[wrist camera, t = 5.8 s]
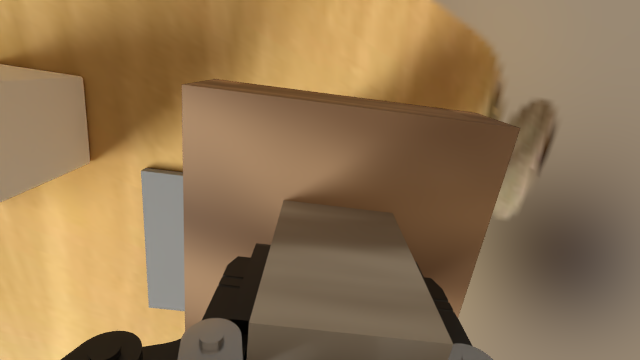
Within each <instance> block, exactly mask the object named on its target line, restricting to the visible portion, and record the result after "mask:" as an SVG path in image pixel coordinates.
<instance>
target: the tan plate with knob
mask: <svg viewBox="0 0 640 360" xmlns="http://www.w3.org/2000/svg"><path fill="white" fill-rule="evenodd" d="M519 131H520V128H519V127H516V126H513V125H510V124H507V123H504V122H501V121H498V120H495V119H492V118H489V117H486V116H483V115H480V114H477V113H472V112H465V111H457V110H449V109H442V108H434V107H426V106H418V105H411V104H403V103H395V102H388V101H380V100H372V99H365V98H357V97H349V96H341V95H334V94H326V93H318V92H311V91H303V90H295V89H287V88H280V87H272V86H264V85H257V84H249V83H241V82H233V81H226V80H218V79H213V80H206V81H200V82H194V83H188V84H182V133H183V208H184V284H185V332H186V330H187V329H189V328H190V327H191V326H192V325H194V324H195V323H197V322H199V321H202V319H203V316H204V314H205V312H206V310H207V308H208V306H209V304H210V301H211V299H212V297H213V295H214V293H215V291H216V289H217V286H218V285H219V282H220V280H221V278H222V277H223V274H224V271H225V269H226V267H227V265H228V264H229V263H230V262H232V261H233V260H234V259H235V258H237V257H238V256H241V257H250V258H251V256H252V253H253V250H254V248H255V245H256V243H259V244H268V245H271V246H270V250H269V254H268V257H267V261H266V264H265V268H264V271H263V275H262V278H261V282H260V285H259V289H258V293H257V296H256V300H255V303H254V307H253V310H252V314H251V317H250V321H249V330H248V345H247V359H246V360H448V358H449V355H450V352H451V349H452V347H453V343H452V340H451V338H450V336H449V334H448V332H447V330H446V327H445V325H444V323H443V321H442V319H441V317H440V314H439V312H438V310H437V308H436V306H435V304H434V301H433V299H432V297H431V295H430V293H429V291H428V288H427V286H426V284H425V282H424V280H423V278H422V275H421V273H420V271H419V269H418V267H417V265H416V262H417V264H418V266H419V268H420V270H421V272H422V274H423V276H424V277H427V278H431V279H433V280H434V281H435V282H436V283H437V284H438V285H439V286H440V287H441V288H442V289H443V291H444V293H445V295H446V297H447V299H448V302H449V303H450V304H451V306H452V308H453V312H455V314H456V316H457V318H458V316H459V313H460V310H461V307H462V304H463V301H464V298H465V295H466V292H467V289H468V286H469V282H470V280H471V277H472V273H473V270H474V267H475V264H476V261H477V258H478V255H479V252H480V249H481V246H482V243H483V240H484V237H485V234H486V231H487V228H488V225H489V222H490V219H491V216H492V213H493V210H494V207H495V204H496V201H497V198H498V194H499V191H500V188H501V185H502V182H503V179H504V176H505V173H506V170H507V167H508V164H509V161H510V158H511V155H512V152H513V149H514V146H515V143H516V140H517V137H518V134H519Z"/></svg>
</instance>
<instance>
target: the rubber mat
mask: <svg viewBox="0 0 640 360" xmlns="http://www.w3.org/2000/svg"><path fill="white" fill-rule="evenodd" d="M141 178H142V196H143V213H144V230H145V247H146V264H147V281H148V299H149V307H150V308H159V309H169V310H179V311H185V284H184V208H183V172H175V171H167V170H159V169H150V168H145V169H143V170H142V171H141Z"/></svg>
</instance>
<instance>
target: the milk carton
mask: <svg viewBox="0 0 640 360" xmlns="http://www.w3.org/2000/svg"><path fill="white" fill-rule="evenodd" d="M89 162H90V153H89V141H88V130H87V118H86V106H85V94H84V84H83V78H82V77H81V76H75V75H69V74H62V73H56V72H49V71H43V70H36V69H30V68H23V67H16V66H10V65H3V64H0V202H2V201H5V200H7V199H9V198H11V197H14V196H16V195H18V194H21V193H23V192H25V191H27V190H30V189H32V188H34V187H37V186H39V185H41V184H43V183H46V182H48V181H50V180H52V179H55V178H57V177H59V176H62V175H64V174H66V173H68V172H71V171H73V170H75V169H78V168H80V167H82V166H84V165H87V164H89Z"/></svg>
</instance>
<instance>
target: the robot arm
mask: <svg viewBox="0 0 640 360" xmlns="http://www.w3.org/2000/svg"><path fill="white" fill-rule="evenodd" d="M270 246H271V245H268V244H259V243H256V245H255V248H254V250H253V253H252V256H251V258H250V257H241V256H238V257H237V258H235V259H234V260H233V261H232V262H230V263H229V264H228V265H227V267H226V269H225V271H224V274H223V277H222V278H221V280H220V282H219V285H218V286H217V289H216V291H215V293H214V295H213V297H212V299H211V301H210V304H209V306H208V308H207V310H206V312H205V314H204V316H203V319H202V321H199V322H197V323H195V324H194V325H192V326H191V327H190V328H189V329H187V330H186V332H185V333H184V334H183V336H182V338H181V339H179V340H176V341H173V342H169V343H164V344H158V345H152V346H146V347H142V343H141V341H140V339H139V338H138V337H137V336H136V335H135V334H133V333H130V332H126V331H112V332H107V333H103V334H100V335H97V336H95V337H93V338H91V339H89V340H87V341H86V342H84V343H83V344H81V345H80V346H78V347H77V348H76V349H74V350H73V351H72V352H70V353H69V354H68V355H66V356H65V357H64V358H62V359H61V360H246V359H247V345H248V330H249V321H250V317H251V314H252V310H253V307H254V303H255V300H256V296H257V293H258V289H259V285H260V282H261V278H262V275H263V271H264V268H265V264H266V261H267V257H268V254H269V250H270ZM416 265H417V267H418V269H419V271H420V273H421V275H422V278H423V280H424V282H425V284H426V286H427V288H428V291H429V293H430V295H431V297H432V299H433V301H434V304H435V306H436V308H437V310H438V312H439V314H440V317H441V319H442V321H443V323H444V325H445V327H446V330H447V332H448V334H449V336H450V338H451V340H452V343H453V347H452V349H451V352H450V355H449V358H448V360H493V359H492V358H491V357H490V356H488V355H487V354H486V353H484V352H483V351H481V350H479V349H477V348H475V347H473V346H472V345H471V343H470V341H469V339H468V337H467V335H466V333H465V331H464V329H463V327H462V325H461V324H460V322H459V320H458V318H457V316H456V314H455V312H453V308H452V306H451V304H450V303H449V302H448V299H447V297H446V295H445V293H444V291H443V289H442V288H441V287H440V286H439V285H438V284H437V283H436V282H435V281H434V280H433V279H431V278H427V277H424V276H423V274H422V272H421V270H420V268H419V266H418V264H417V262H416Z"/></svg>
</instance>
